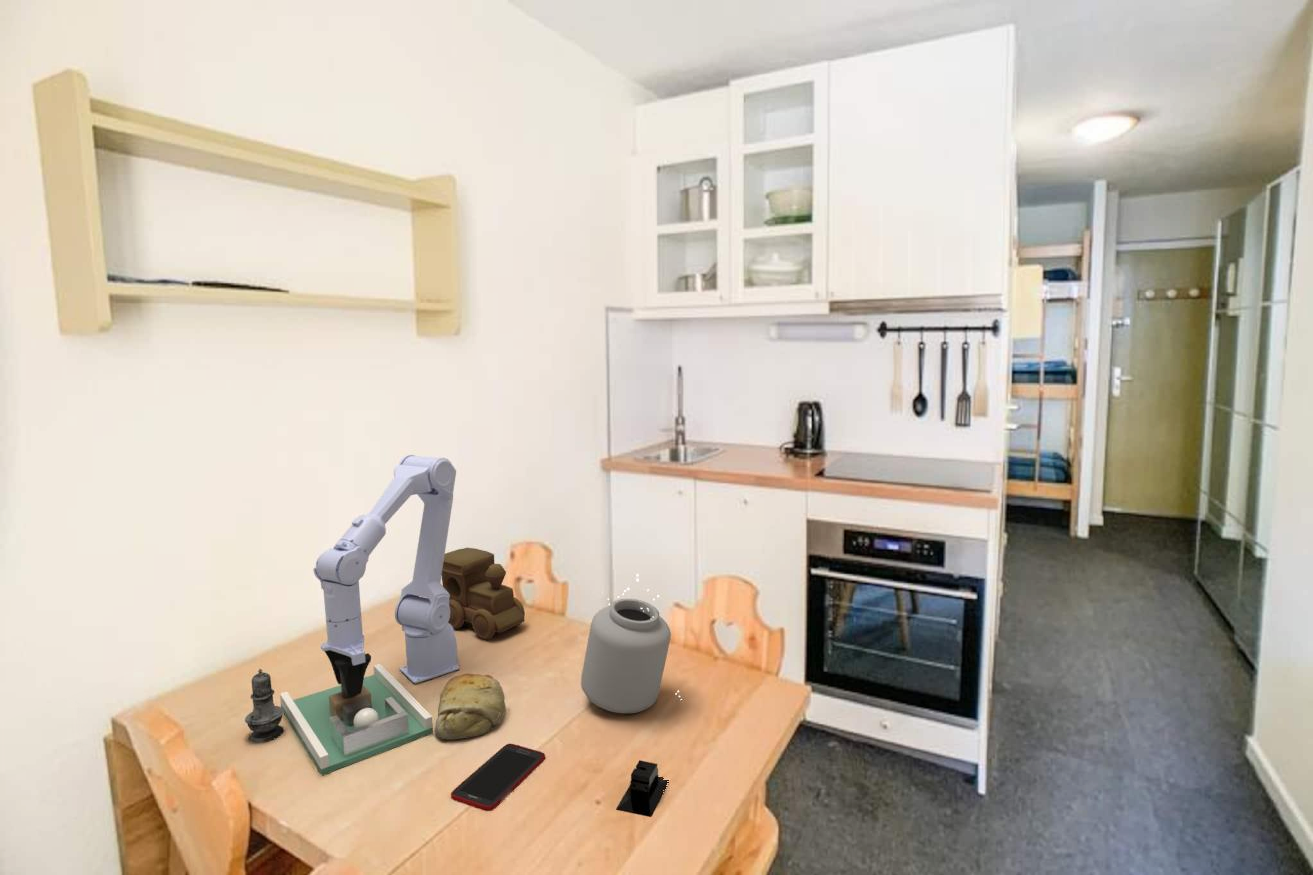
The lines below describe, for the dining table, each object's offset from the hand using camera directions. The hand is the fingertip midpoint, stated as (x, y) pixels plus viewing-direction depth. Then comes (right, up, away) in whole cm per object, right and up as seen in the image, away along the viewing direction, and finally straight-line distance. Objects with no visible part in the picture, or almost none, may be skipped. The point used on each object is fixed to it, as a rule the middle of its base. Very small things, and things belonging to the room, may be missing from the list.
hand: (349, 688), depth 126 cm
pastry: (+22, -6, -1) cm, 23 cm away
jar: (+50, -5, +5) cm, 51 cm away
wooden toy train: (+14, 0, +39) cm, 42 cm away
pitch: (+1, -6, -1) cm, 6 cm away
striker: (+1, -4, -1) cm, 4 cm away
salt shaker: (-12, -7, -5) cm, 15 cm away
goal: (+7, -5, -7) cm, 11 cm away
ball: (+6, -3, -6) cm, 9 cm away
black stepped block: (+53, -9, -21) cm, 58 cm away
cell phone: (+31, -8, -17) cm, 36 cm away
